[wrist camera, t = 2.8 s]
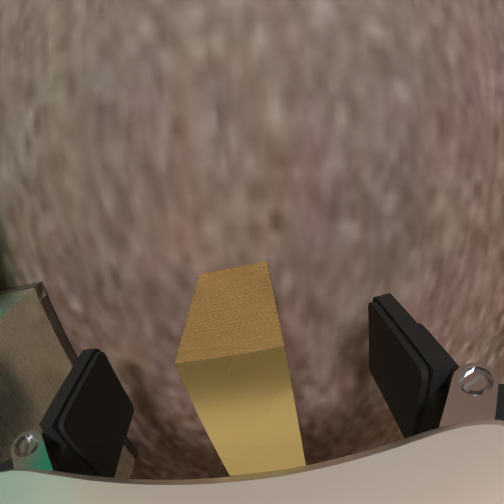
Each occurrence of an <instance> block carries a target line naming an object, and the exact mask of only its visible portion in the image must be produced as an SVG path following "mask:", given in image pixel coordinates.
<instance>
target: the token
mask: <svg viewBox="0 0 504 504" xmlns="http://www.w3.org/2000/svg"><path fill="white" fill-rule="evenodd" d="M175 365H176V367H177V369H178V372H179V374H180V376H181V379H182V381H183V383H184V385H185V388H186V390H187V392H188V394H189V396H190V398H191V401H192V403H193V405H194V407H195V409H196V411H197V413H198V415H199V418H200V420H201V422H202V424H203V426H204V428H205V430H206V432H207V434H208V436H209V438H210V440H211V442H212V444H213V445H214V447H215V449H216V451H217V453H218V455H219V457H220V459H221V461H222V462H223V464H224V466H225V468H226V470H227V472H228V473H229V475H230V476H236V475H246V474H255V473H262V472H270V471H277V470H283V469H289V468H295V467H300V466H305V465H306V463H305V458H304V452H303V446H302V441H301V435H300V429H299V424H298V418H297V413H296V407H295V402H294V396H293V391H292V385H291V380H290V374H289V369H288V364H287V358H286V353H285V348H284V343H283V338H282V333H281V328H280V323H279V318H278V313H277V308H276V304H275V299H274V294H273V289H272V284H271V280H270V275H269V270H268V265H267V261H265V262H260V263H255V264H250V265H245V266H240V267H235V268H230V269H225V270H220V271H215V272H209V273H204V274H200V275H199V278H198V282H197V285H196V289H195V292H194V296H193V299H192V303H191V306H190V310H189V313H188V317H187V321H186V324H185V328H184V331H183V335H182V339H181V343H180V346H179V350H178V354H177V358H176V362H175Z"/></svg>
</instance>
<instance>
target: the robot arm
mask: <svg viewBox="0 0 504 504" xmlns="http://www.w3.org/2000/svg"><path fill="white" fill-rule="evenodd" d="M368 312H369V368H370V372H371V374H372V376H373V378H374V380H375V381H376V383H377V385H378V387H379V389H380V391H381V393H382V395H383V397H384V399H385V401H386V403H387V404H388V406H389V408H390V410H391V412H392V414H393V416H394V418H395V420H396V422H397V424H398V426H399V428H400V430H401V432H402V434H403V436H404V439H401V440H398V441H395V442H392V443H389V444H386V445H383V446H380V447H377V448H373V449H370V450H366V451H363V452H359V453H356V454H352V455H348V456H344V457H340V458H336V459H332V460H328V461H324V462H320V463H315V464H311V465H306V466H301V467H296V468H290V469H284V470H278V471H272V472H265V473H258V474H250V475H242V476H232V477H221V478H207V479H184V480H147V479H124V478H114V477H115V473H116V469H117V466H118V462H119V459H120V455H121V452H122V449H123V445H124V442H125V438H126V435H127V432H128V429H129V425H130V422H131V419H132V416H133V412H134V409H133V405H132V403H131V401H130V399H129V398H128V396H127V394H126V392H125V391H124V389H123V387H122V385H121V383H120V382H119V380H118V378H117V376H116V374H115V372H114V370H113V369H112V367H111V365H110V363H109V361H108V359H107V357H106V355H105V353H103V352H101V351H100V350H99V349H87V350H83V351H82V353H81V354H80V356H79V357H78V359H77V361H76V362H75V364H74V365H73V367H72V369H71V370H70V372H69V374H68V375H67V377H66V379H65V380H64V382H63V384H62V385H61V387H60V389H59V390H58V392H57V394H56V395H55V397H54V399H53V401H52V402H51V404H50V406H49V408H48V409H47V411H46V413H45V415H44V417H43V418H42V420H41V422H40V424H39V426H40V427H41V429H42V430H43V432H42V434H40V433H39V432H38V431H35V430H29V431H26V432H23V433H22V434H20V435H19V436H18V437H17V438H16V439H15V440H14V442H13V443H12V446H11V455H12V458H10V459H8V460H6V461H4V462H3V463H1V464H0V504H504V384H498V383H499V382H498V376H497V374H496V373H495V371H494V370H493V369H492V368H491V367H489V366H487V365H485V364H480V363H469V364H465V365H463V366H461V367H459V366H458V365H457V364H456V362H455V361H454V360H453V359H452V358H451V357H450V355H449V354H448V353H447V352H446V351H445V350H444V348H443V347H442V346H441V345H440V344H439V343H438V342H437V340H436V339H435V338H434V337H433V336H432V335H431V334H430V333H429V331H428V330H427V329H426V328H425V327H424V326H423V325H422V324H419V323H417V322H416V321H415V320H414V319H413V318H412V317H411V316H410V314H409V313H408V312H407V311H406V310H405V309H404V308H403V307H402V306H401V305H400V303H399V302H398V301H397V300H396V299H395V298H394V297H393V296H392V295H391V294H390V293H388V294H384V295H381V296H377V297H374V298H373V302H371V303H369V305H368Z"/></svg>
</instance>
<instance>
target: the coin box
mask: <svg viewBox="0 0 504 504" xmlns="http://www.w3.org/2000/svg"><path fill="white" fill-rule="evenodd" d="M76 361H77V357H76V355H75V353H74V351H73V349H72V347H71V345H70V343H69V341H68V339H67V337H66V335H65V333H64V331H63V329H62V327H61V325H60V323H59V321H58V319H57V317H56V314H55V312H54V310H53V308H52V305H51V303H50V301H49V299H48V296H47V294H46V291H45V289H44V287H43V284H42V282H38V283H33V284H29V285H25V286H21V287H16V288H12V289H8V290H4V291H0V464H1V463H3V462H4V461H6V460H8V459H10V458H12V455H11V446H12V443H13V442H14V440H15V439H16V438H17V437H18V436H19V435H20V434H22V433H23V432H26V431H29V430H35V431H38V432H39V433H40V434H42V432H43V430H42V429H41V427H40V426H39V424H40V422H41V420H42V418H43V417H44V415H45V413H46V411H47V409H48V408H49V406H50V404H51V402H52V401H53V399H54V397H55V395H56V394H57V392H58V390H59V389H60V387H61V385H62V384H63V382H64V380H65V379H66V377H67V375H68V374H69V372H70V370H71V369H72V367H73V365H74V364H75V362H76ZM136 455H137V450H136V449H135V448H134V446H133V445H132V444H131V442H130V441H129V440H128V438H127V437H126V438H125V442H124V445H123V449H122V452H121V455H120V459H119V462H118V466H117V469H116V473H115V477H114V478H124V479H130V478H131V474H132V470H133V467H134V463H135V459H136Z"/></svg>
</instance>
